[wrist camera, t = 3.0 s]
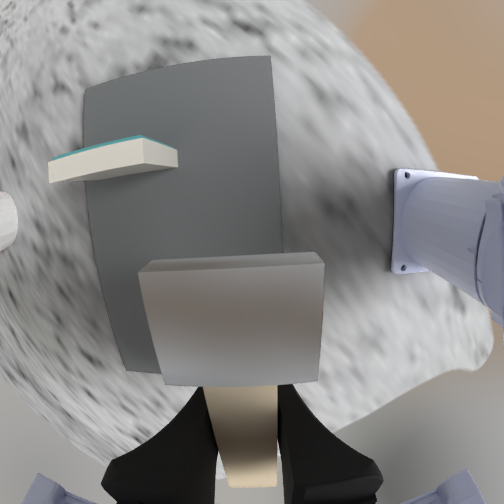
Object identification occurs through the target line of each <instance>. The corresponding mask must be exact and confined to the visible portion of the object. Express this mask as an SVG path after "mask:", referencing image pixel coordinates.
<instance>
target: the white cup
mask: <svg viewBox="0 0 504 504" xmlns="http://www.w3.org/2000/svg"><path fill="white" fill-rule="evenodd" d="M17 231H18V216H17V210H16V206H15V204H14V201H13V199H12V197H11V196H10V195H9V194H8V193H6V192H2V191H0V251H2V250H3V249H5V248H7V247H9V246H11V245H12V243H13V242H14V241H15V239H16V235H17Z"/></svg>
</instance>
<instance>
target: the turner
mask: <svg viewBox="0 0 504 504" xmlns="http://www.w3.org/2000/svg"><path fill="white" fill-rule="evenodd" d="M324 271H325V263H324V262H323V260H322V259H321V258H320V257H319V256H318V255H317V253H316V252H297V253H278V254H260V255H241V256H223V257H204V258H185V259H165V260H152V261H151V262H149V263H148V264H147V265H146V266H145V267H144V268H142V269H141V270H140V271H139V272H138V276H139V282H140V287H141V292H142V297H143V302H144V306H145V311H146V315H147V320H148V324H149V328H150V332H151V336H152V340H153V344H154V348H155V352H156V355H157V359H158V362H159V366H160V369H161V373H162V376H163V379H164V382H165V385H176V386H197V387H203V390H204V394H205V399H206V403H207V407H208V411H209V415H210V419H211V423H212V427H213V431H214V435H215V438H216V442H217V446H218V449H219V453H220V456H221V460H222V463H223V467H224V470H225V473H226V477H227V480H228V483H229V486H230V487H273V486H277V385H285V384H296V383H306V382H315V381H318V371H319V360H320V349H321V335H322V320H323V300H324Z"/></svg>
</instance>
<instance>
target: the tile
mask: <svg viewBox="0 0 504 504" xmlns="http://www.w3.org/2000/svg"><path fill="white" fill-rule="evenodd" d="M170 168H178V156H177V150H176V149H174V148H173V147H172V146H169V145H167V144H164V143H161V142H159V141H156V140H153V139H151V138H148V137H145V136H142V135H137V136H132V137H128V138H123V139H119V140H114V141H110V142H106V143H102V144H98V145H94V146H90V147H87V148H83V149H80V150H76V151H73V152H69V153H66V154H63V155H60V156H57V157H54V158H53V161H50V162H48V172H49V184H52V183H62V182H74V181H88V180H102V179H107V178H113V177H118V176H124V175H130V174H136V173H142V172H149V171H156V170H163V169H170Z"/></svg>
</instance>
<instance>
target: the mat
mask: <svg viewBox="0 0 504 504" xmlns="http://www.w3.org/2000/svg"><path fill="white" fill-rule="evenodd" d="M137 135H142V136H145V137H148V138H151V139H153V140H156V141H159V142H161V143H164V144H167V145H169V146H172V147H173V148H174V149H176V150H177V156H178V168H170V169H163V170H156V171H149V172H142V173H136V174H130V175H124V176H118V177H113V178H107V179H102V180H88V181H85V185H86V196H87V206H88V215H89V223H90V230H91V236H92V243H93V248H94V254H95V259H96V265H97V270H98V274H99V279H100V283H101V288H102V292H103V296H104V300H105V304H106V308H107V312H108V315H109V319H110V322H111V326H112V329H113V332H114V336H115V339H116V342H117V345H118V348H119V351H120V354H121V357H122V360H123V363H124V366H125V368H126V371H136V372H147V373H160V374H162V373H161V369H160V366H159V362H158V359H157V355H156V352H155V348H154V344H153V340H152V336H151V332H150V328H149V324H148V320H147V315H146V311H145V306H144V302H143V297H142V292H141V287H140V282H139V276H138V272H139V271H140V270H141V269H142V268H144V267H145V266H146V265H147V264H148V263H149V262H151V261H152V260H165V259H185V258H204V257H223V256H241V255H260V254H278V253H282V229H281V204H280V183H279V164H278V147H277V131H276V117H275V103H274V90H273V78H272V67H271V56H246V57H232V58H221V59H211V60H203V61H196V62H189V63H183V64H177V65H172V66H167V67H162V68H157V69H153V70H148V71H144V72H140V73H136V74H132V75H129V76H125V77H121V78H118V79H115V80H111V81H108V82H105V83H102V84H99V85H96V86H93V87H90V88H88V89H85V102H84V148H87V147H90V146H94V145H98V144H102V143H106V142H110V141H114V140H119V139H123V138H128V137H132V136H137Z"/></svg>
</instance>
